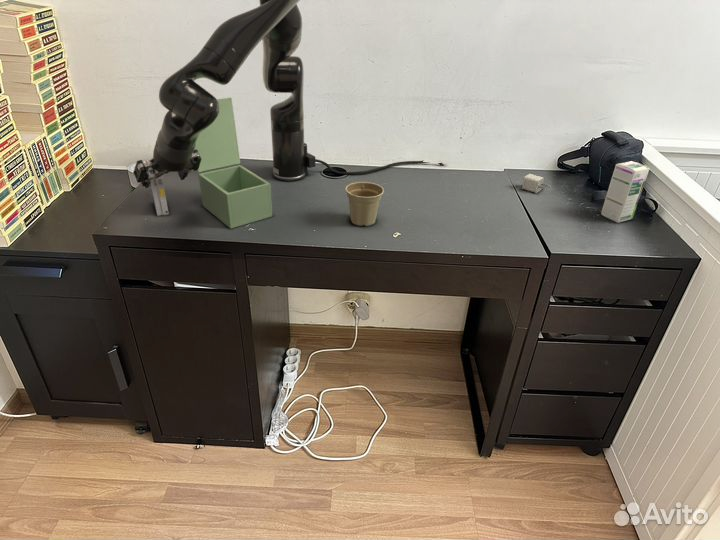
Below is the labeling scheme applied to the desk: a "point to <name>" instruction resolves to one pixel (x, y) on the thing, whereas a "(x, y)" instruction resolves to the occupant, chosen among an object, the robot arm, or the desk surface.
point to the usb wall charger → (534, 183)
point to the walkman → (158, 195)
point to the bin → (236, 195)
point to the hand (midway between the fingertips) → (163, 180)
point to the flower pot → (364, 202)
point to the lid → (219, 140)
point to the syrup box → (624, 191)
